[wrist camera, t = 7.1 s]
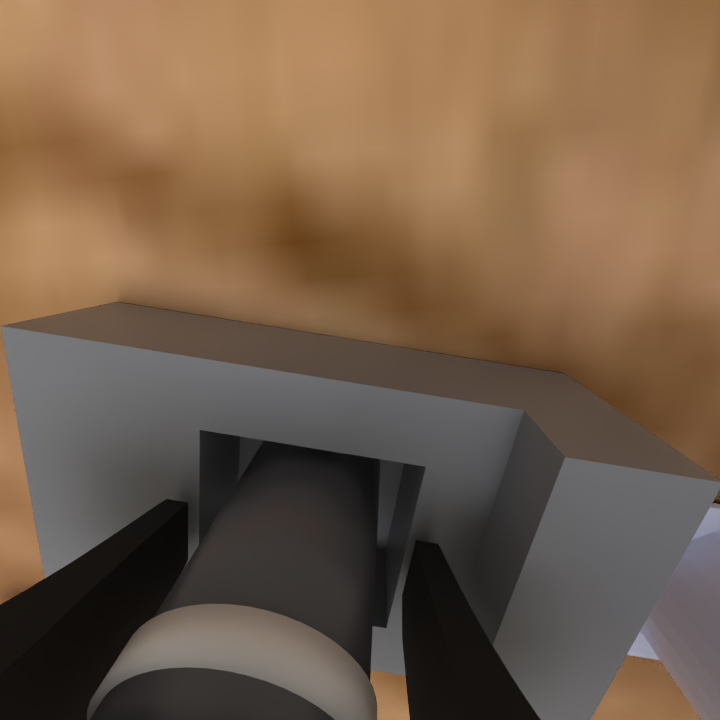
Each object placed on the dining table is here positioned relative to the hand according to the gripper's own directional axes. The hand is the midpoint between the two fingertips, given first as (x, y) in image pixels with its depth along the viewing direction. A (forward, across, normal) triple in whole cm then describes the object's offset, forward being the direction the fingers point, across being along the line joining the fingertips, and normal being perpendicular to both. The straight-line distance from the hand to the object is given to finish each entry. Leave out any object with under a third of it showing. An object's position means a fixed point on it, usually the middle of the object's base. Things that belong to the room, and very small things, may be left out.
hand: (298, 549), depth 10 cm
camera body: (+4, 0, 0) cm, 4 cm away
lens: (+3, 0, 0) cm, 3 cm away
